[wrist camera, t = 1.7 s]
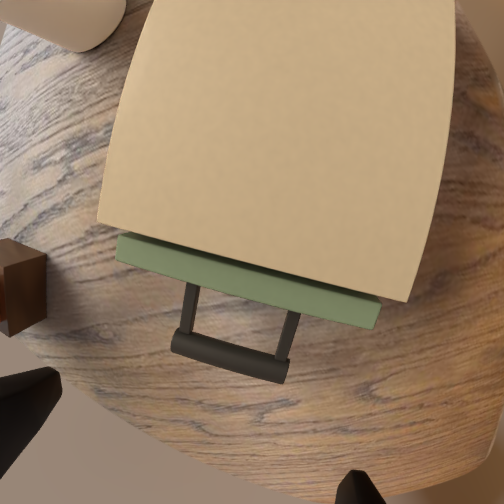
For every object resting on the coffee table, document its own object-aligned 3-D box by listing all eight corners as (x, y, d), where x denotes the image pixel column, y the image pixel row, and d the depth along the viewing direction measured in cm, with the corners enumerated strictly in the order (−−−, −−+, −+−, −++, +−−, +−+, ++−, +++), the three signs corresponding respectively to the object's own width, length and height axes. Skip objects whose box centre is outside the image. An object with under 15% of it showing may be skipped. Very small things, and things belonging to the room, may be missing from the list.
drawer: (328, 357, 19) (334, 420, 13) (159, 310, 20) (109, 352, 14) (405, 11, 14) (434, -42, 8) (236, -21, 15) (212, -78, 9)
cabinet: (367, 258, 18) (407, 303, 11) (171, 209, 20) (96, 222, 12) (411, -7, 14) (445, -73, 6) (240, -39, 16) (212, -109, 8)
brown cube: (47, 317, 24) (9, 338, 19) (8, 296, 24) (-27, 311, 20) (46, 253, 22) (3, 267, 18) (7, 237, 23) (-32, 247, 18)
